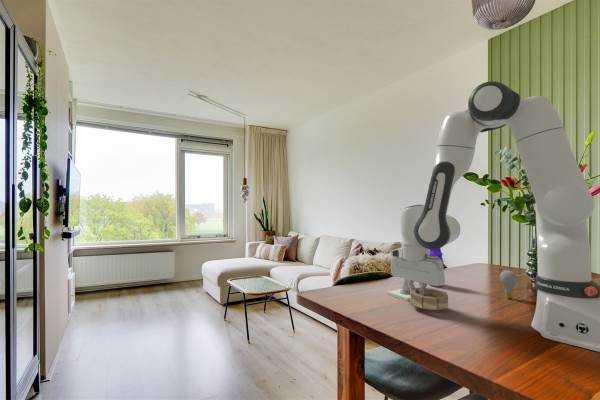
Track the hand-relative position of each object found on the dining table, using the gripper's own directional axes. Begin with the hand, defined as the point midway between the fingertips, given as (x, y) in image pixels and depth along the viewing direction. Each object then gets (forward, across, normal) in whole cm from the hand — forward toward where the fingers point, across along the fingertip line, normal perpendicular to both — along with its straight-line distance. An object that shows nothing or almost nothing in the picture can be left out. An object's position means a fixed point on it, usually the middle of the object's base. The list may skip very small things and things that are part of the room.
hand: (417, 294), depth 110 cm
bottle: (+4, +15, -27) cm, 32 cm away
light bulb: (+4, -11, -34) cm, 36 cm away
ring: (+2, -5, 0) cm, 5 cm away
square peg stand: (+3, +10, -6) cm, 12 cm away
